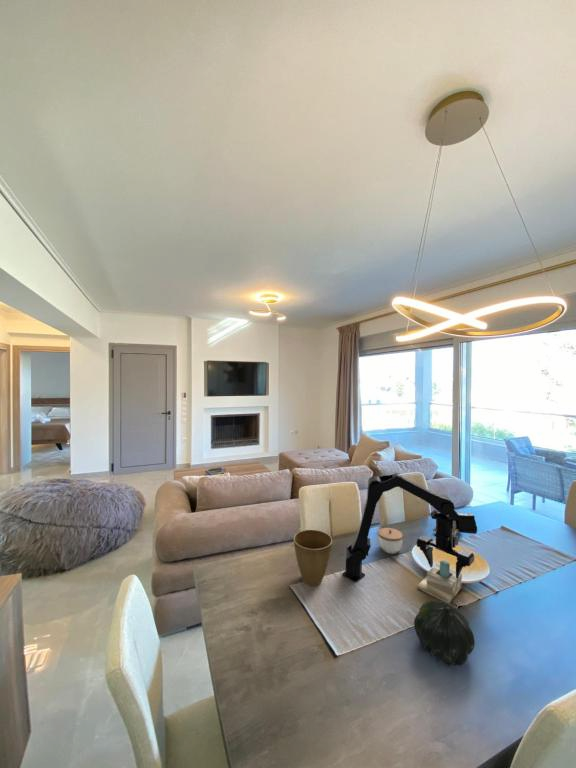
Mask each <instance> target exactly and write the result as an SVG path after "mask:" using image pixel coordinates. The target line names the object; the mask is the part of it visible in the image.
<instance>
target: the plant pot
mask: <svg viewBox="0 0 576 768" xmlns="http://www.w3.org/2000/svg"><path fill="white" fill-rule="evenodd" d="M293 544H294V545H293V546H294V551H295V557H296V561H297V566H298V568H299V572H300V575H301V578H302V580H303V583H305V584H306V585H308V586H318V585H320V584H321V583H322V581H323V579H324V576H325V574H326V570H327V568H328V564H329V560H330V555H331V552H332V546H333V539H332V536H330V534H329V533H328V532H327V533H326V532H324V531H322V530H318V529H305V530H301V531H299V532H298V531H297V533H295V535H294V536H293Z"/></svg>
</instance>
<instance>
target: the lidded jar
mask: <svg viewBox="0 0 576 768" xmlns="http://www.w3.org/2000/svg"><path fill="white" fill-rule="evenodd" d="M377 535H378V538H377V539H378V544H379V546H380V547H381V549H382V550H383V551H384V552H385V553H388V554H393V555H394V554H397V553H398V552H399V551H400V550H401V549H402V546H403V538H404V535H403V533H402V532H401V531H400V530H398V529H396V528H391V527H383V528H380V529H378V531H377Z"/></svg>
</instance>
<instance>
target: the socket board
mask: <svg viewBox="0 0 576 768" xmlns="http://www.w3.org/2000/svg"><path fill="white" fill-rule="evenodd" d="M462 579H463V575H462V574H461V573H460V575H459V578H458V579H457V578H456V570H453V569H450V571H449V579H447V578H444V577H442V576H440V564H435V565H433V567H432V568H431V569H430V570H429V571H428V572H427V573H426V577H425V578H424V579H423V580H421V581H420V583H418V584H417V585H416V586H417V587H416V588H417V589H418V590H420V591H421V592H424V593H426V594H428V595H429V596H433V597H434V598H437V600H439V601H441V602H445V603H448V604H450V603H451V601H452V600H453V599H454V598H455V596H456V595H458V593H459V591H461V589H462V583H463V581H462ZM461 581H462V582H461Z"/></svg>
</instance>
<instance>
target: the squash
mask: <svg viewBox="0 0 576 768" xmlns="http://www.w3.org/2000/svg"><path fill="white" fill-rule="evenodd" d="M413 624H414V625H413V626H414V627H413V628H414V631H415V635H416V636H417V638H418V639H419V641H420V642H421V645H422V647H423V649H424V650H425V651H426V652H428V653H431V655H432V656H433V657H434V658H438V659H439V658H440V659H441V661H442V662H443V664H445V665H447V666H448V667H449V666H452V665H454V664H455V665H458V666H459V665H463V664H465V663H466V662H467V660H468V657H469V655H470V654H472V652H473V651H474V649H475V644H476V642H475V641H476V640H475V637H474V633H473V630H472V628H471V626H470V623H469V621H468V619H467V617H466V615H465V614H464V613H463V612H462V611H461V610H459V609H458V608H456V607H455V606H453V605H452V604H450V603H449V604H448V603H446V602H444V601H442V600H429V601H425V602H423V603H422V604H421V606H420V608H419V610H418V612H417V614H416V616H415V618H414V621H413Z"/></svg>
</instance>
